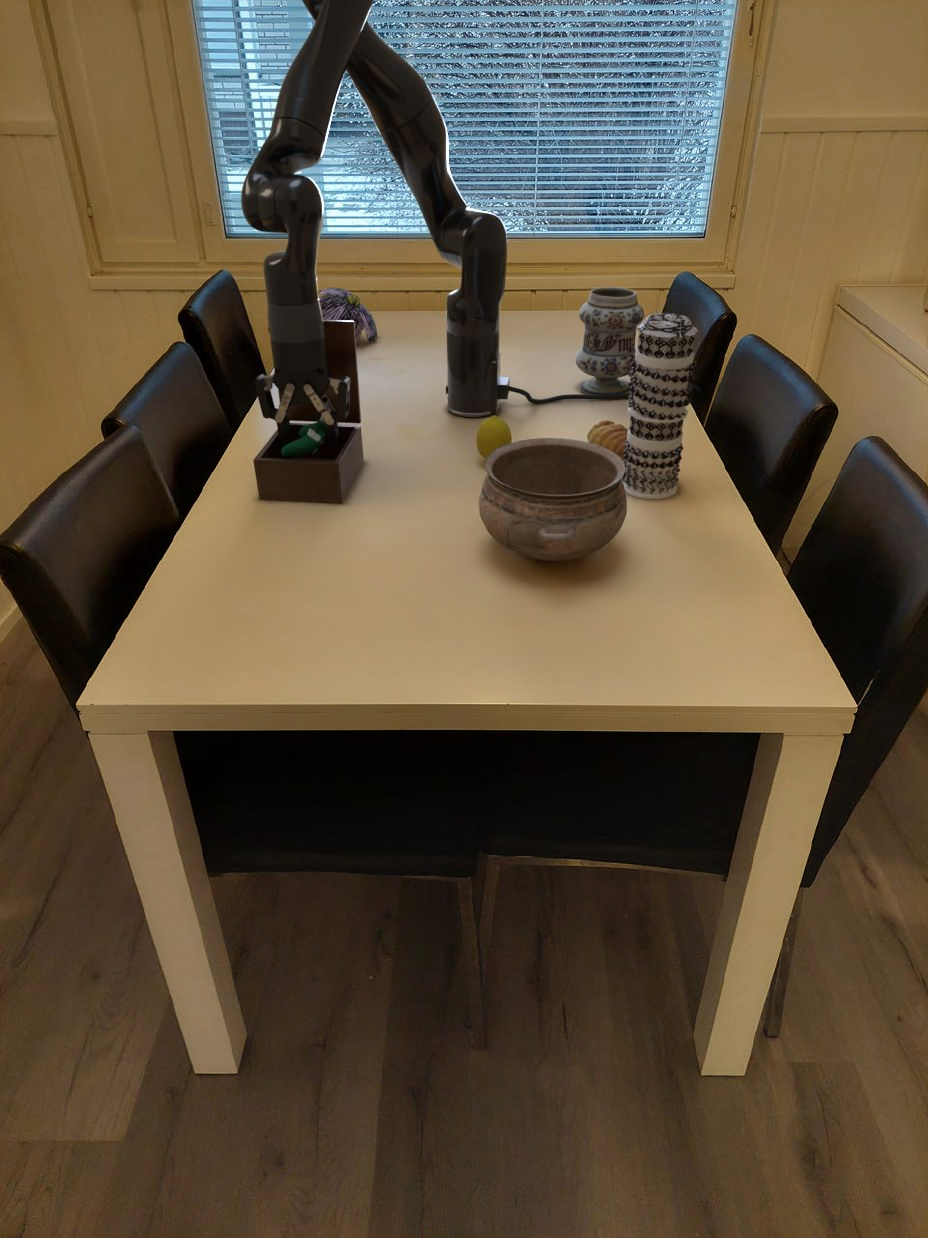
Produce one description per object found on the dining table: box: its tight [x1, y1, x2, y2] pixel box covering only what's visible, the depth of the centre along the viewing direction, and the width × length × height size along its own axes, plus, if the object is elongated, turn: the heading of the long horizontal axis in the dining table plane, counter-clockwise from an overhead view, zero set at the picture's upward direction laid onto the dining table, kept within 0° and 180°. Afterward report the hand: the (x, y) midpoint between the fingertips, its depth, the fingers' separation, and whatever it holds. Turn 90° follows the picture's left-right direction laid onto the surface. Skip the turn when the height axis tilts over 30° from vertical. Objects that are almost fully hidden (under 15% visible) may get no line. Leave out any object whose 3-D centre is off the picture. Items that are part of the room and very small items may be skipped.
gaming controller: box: [281, 416, 327, 458], centre depth 132 cm, size 9×4×6 cm
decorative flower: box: [318, 287, 378, 344], centre depth 194 cm, size 15×12×15 cm
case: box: [252, 422, 365, 504], centre depth 134 cm, size 15×13×6 cm
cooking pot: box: [478, 437, 628, 564], centre depth 113 cm, size 25×19×12 cm
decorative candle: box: [621, 312, 699, 500], centre depth 125 cm, size 9×9×25 cm
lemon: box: [475, 415, 513, 461], centre depth 138 cm, size 6×6×8 cm
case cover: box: [277, 320, 362, 424], centre depth 135 cm, size 15×13×5 cm
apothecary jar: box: [574, 286, 645, 394], centre depth 163 cm, size 12×12×18 cm
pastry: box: [587, 419, 629, 460], centre depth 143 cm, size 9×7×4 cm
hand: (309, 444), depth 132 cm, fingers closed on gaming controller, 6 cm apart
